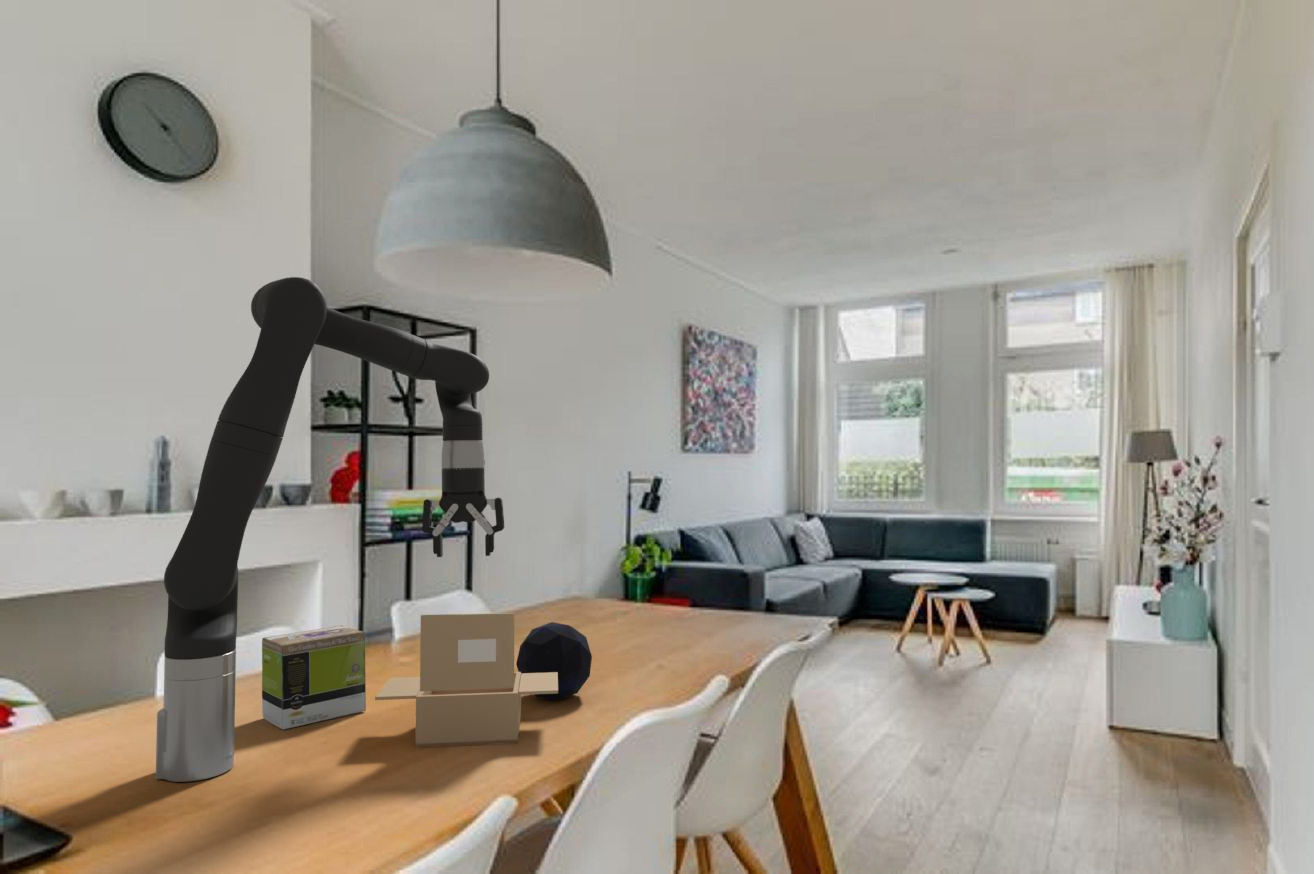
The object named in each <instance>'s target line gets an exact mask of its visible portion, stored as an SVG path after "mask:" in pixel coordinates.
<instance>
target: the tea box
mask: <svg viewBox="0 0 1314 874" xmlns="http://www.w3.org/2000/svg"><path fill="white" fill-rule="evenodd" d="M365 635H366V632H364V631H362V630H357V629H354V628H351V627H346V626H344V625H336V626H330V627H324V628H318V629H310V630H304V631H297V632H290V633H286V634H284V633H283V634H279V635H278V634H277V635H271V636H270V635H269V636H266V637H262V640H261V641H262V642H261V653H262V654H261V665H262V666H261V667H262V668H261V673H262V674H261V675H262V676H261V682H262V683H261V698H262V700H261V706H262V707H261V709H262V711H261V712H262V718H263V719H264V720H265V721H267V722H268V723H270V724H272V725H273V726H276V727H277V728H278V729H281V730H288V729H291V728H297V727H301V726H306V725H309V724H314V723H317V722H322V721H326V720H331V719H336V718H339V717H344V716H349V715H353V714H357V713H362V712H366V710H367V704H366V703H367V701H366V700H367V698H366V697H367V696H366V694H367V693H366V681H367V679H366V674H367V673H366V636H365Z"/></svg>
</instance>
